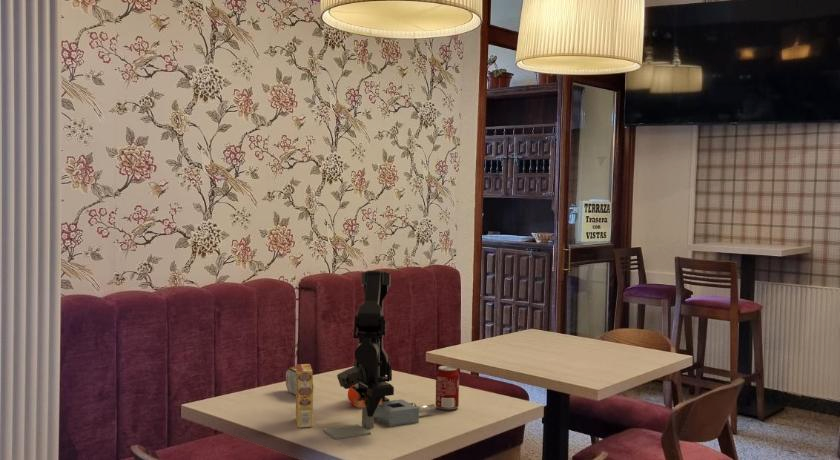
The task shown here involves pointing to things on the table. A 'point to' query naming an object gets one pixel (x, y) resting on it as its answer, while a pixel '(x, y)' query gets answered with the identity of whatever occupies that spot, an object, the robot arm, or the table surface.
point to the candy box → (304, 395)
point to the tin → (291, 380)
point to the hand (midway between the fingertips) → (368, 415)
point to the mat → (346, 431)
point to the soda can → (447, 388)
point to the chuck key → (365, 413)
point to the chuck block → (400, 412)
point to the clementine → (352, 395)
